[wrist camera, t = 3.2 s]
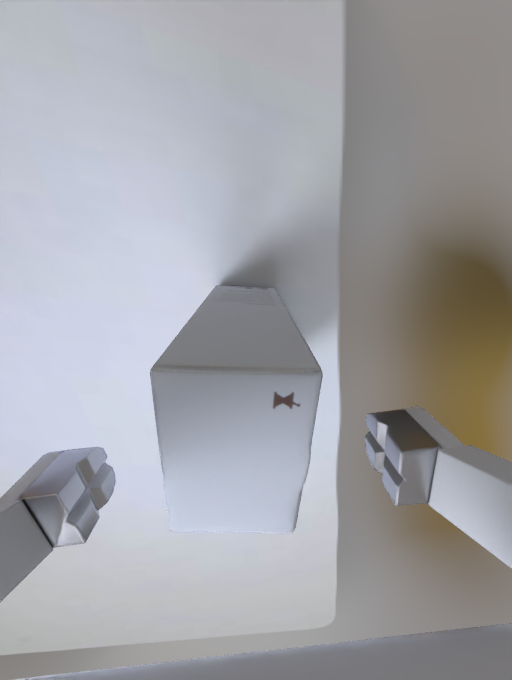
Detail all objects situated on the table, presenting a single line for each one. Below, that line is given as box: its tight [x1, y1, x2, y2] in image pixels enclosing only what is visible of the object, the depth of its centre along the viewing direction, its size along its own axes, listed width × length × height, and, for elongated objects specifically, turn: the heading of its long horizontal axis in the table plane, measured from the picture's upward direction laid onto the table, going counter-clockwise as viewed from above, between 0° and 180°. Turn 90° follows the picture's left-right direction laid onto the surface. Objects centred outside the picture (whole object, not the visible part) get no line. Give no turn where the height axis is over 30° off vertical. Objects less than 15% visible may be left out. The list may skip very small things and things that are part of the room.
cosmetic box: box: [150, 285, 322, 534], centre depth 12 cm, size 6×4×12 cm
